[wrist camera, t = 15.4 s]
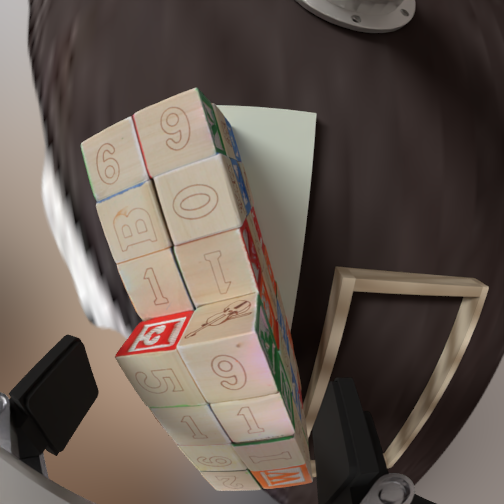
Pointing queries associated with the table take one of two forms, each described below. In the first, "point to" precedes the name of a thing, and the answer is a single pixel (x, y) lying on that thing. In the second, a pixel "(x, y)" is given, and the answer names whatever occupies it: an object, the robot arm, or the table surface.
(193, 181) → the stack of blocks
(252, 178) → the sage mat
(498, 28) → the table surface
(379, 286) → the beige open rectangular frame
